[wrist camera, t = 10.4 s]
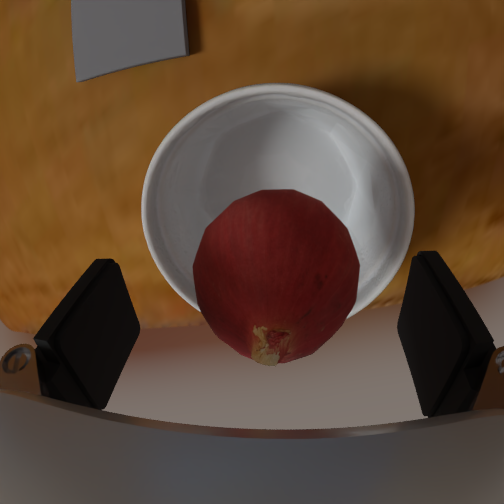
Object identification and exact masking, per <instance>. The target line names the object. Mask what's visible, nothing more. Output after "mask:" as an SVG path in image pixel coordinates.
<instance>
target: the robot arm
mask: <svg viewBox="0 0 504 504" xmlns="http://www.w3.org/2000/svg"><path fill="white" fill-rule="evenodd" d="M397 329H398V334H399V337H400V340H401V343H402V346H403V349H404V352H405V355H406V358H407V362H408V365H409V368H410V371H411V375H412V378H413V381H414V385H415V388H416V392H417V395H418V399H419V403H420V406H421V410H422V413H423V415H424V416H428V418H425V419H418V420H412V421H404V422H397V423H388V424H380V425H371V426H360V427H348V428H331V429H306V430H304V429H303V430H266V429H239V428H223V427H210V426H198V425H189V424H180V423H172V422H165V421H158V420H151V419H145V418H139V417H132V416H126V415H122V414H117V413H112V412H107V411H102V409H104V408H105V407H106V406H107V403H108V401H109V399H110V397H111V394H112V392H113V390H114V387H115V385H116V383H117V381H118V379H119V376H120V374H121V372H122V370H123V368H124V365H125V363H126V361H127V359H128V357H129V355H130V352H131V350H132V348H133V346H134V344H135V342H136V340H137V338H138V336H139V333H140V324H139V321H138V318H137V316H136V313H135V310H134V307H133V305H132V302H131V299H130V296H129V293H128V290H127V287H126V284H125V281H124V278H123V275H122V272H121V269H120V266H119V265H118V263H115V261H114V260H113V259H96V260H95V261H94V262H93V263H92V264H91V265H90V267H89V268H88V269H87V270H86V271H85V272H84V274H83V275H82V276H81V277H80V278H79V280H78V281H77V282H76V283H75V285H74V286H73V287H72V288H71V290H70V291H69V292H68V293H67V295H66V296H65V297H64V298H63V300H62V301H61V302H60V303H59V305H58V306H57V307H56V309H55V310H54V311H53V313H52V314H51V315H50V316H49V318H48V319H47V320H46V322H45V323H44V324H43V326H42V327H41V329H40V330H39V331H38V333H37V334H36V335H35V337H34V340H35V342H36V344H37V348H36V349H34V348H33V347H32V346H31V345H29V344H19V345H16V346H14V347H12V348H10V349H9V350H8V351H7V352H6V353H5V354H4V355H3V356H2V358H1V360H0V504H504V346H503V347H499V348H498V349H496V347H495V346H494V344H493V341H494V340H493V338H492V336H491V334H490V333H489V331H488V329H487V327H486V326H485V324H484V322H483V321H482V319H481V317H480V315H479V314H478V312H477V311H476V309H475V307H474V306H473V304H472V302H471V301H470V300H469V298H468V296H467V295H466V293H465V291H464V290H463V288H462V287H461V285H460V284H459V282H458V281H457V279H456V278H455V276H454V275H453V273H452V272H451V270H450V269H449V267H448V266H447V265H446V263H445V262H444V260H443V259H442V257H441V256H440V255H439V253H438V252H437V251H419V252H418V254H417V256H414V257H413V258H412V261H411V266H410V271H409V276H408V281H407V286H406V290H405V294H404V299H403V303H402V307H401V311H400V316H399V319H398V325H397Z"/></svg>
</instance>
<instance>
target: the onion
mask: <svg viewBox="0 0 504 504" xmlns="http://www.w3.org/2000/svg"><path fill="white" fill-rule="evenodd" d="M192 267H193V278H194V285H195V292H196V298H197V304H198V306H199V309H200V311H201V313H202V314H203V316H204V318H205V319H206V321H207V322H208V324H209V326H210V327H211V329H212V330H213V332H214V333H215V335H217V336H218V338H219V339H221V340H222V341H224V342H225V343H226V344H228V345H229V346H231V347H232V348H233V349H234V350H236V351H237V352H238V353H239V354H241V355H243V356H245V357H248V358H251V359H253V360H255V361H256V362H257V363H260V364H263V365H268V366H275V365H277V364H278V363H287V362H290V361H292V360H296V359H299V358H302V357H305V356H308V355H311V354H313V353H314V352H315V351H316V350H318V348H320V347H321V346H322V345H323V344H324V343H325V342H326V341H327V340H329V339H330V338H331V337H332V336H333V335H334V334H335V333H336V331H338V329H339V328H340V327H341V326H342V325H343V323H344V321H345V320H346V318H347V316H348V315H349V313H350V312H351V310H352V309H353V307H354V305H355V303H356V299H357V291H358V282H359V272H360V263H359V259H358V256H357V253H356V250H355V247H354V244H353V242H352V239H351V236H350V233H349V231H348V228H347V227H346V226H345V225H344V224H343V223H342V222H341V220H340V219H339V218H338V217H337V216H336V215H335V214H334V213H333V212H332V211H331V210H330V209H329V208H328V207H327V206H326V205H325V204H324V203H323V202H322V201H320V200H318V199H316V198H313V197H311V196H309V195H306V194H304V193H301V192H299V191H297V190H294V189H269V190H260V191H257V192H255V193H252V194H250V195H247V196H245V197H242V198H240V199H237V200H235V201H233V202H232V203H231V204H230V205H229V206H228V207H227V208H226V209H225V210H224V211H223V212H222V213H221V214H220V215H219V216H218V217H216V218H215V219H214V220H213V221H212V222H211V223H210V224H209V225H208V226H207V227H206V228H205V231H204V234H203V236H202V239H201V242H200V245H199V247H198V250H197V253H196V256H195V260H194V263H193V266H192Z"/></svg>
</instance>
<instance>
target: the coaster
mask: <svg viewBox="0 0 504 504" xmlns="http://www.w3.org/2000/svg"><path fill="white" fill-rule="evenodd" d="M71 13H72V36H73V51H74V62H75V73H76V82H83V81H86V80H89V79H92V78H96V77H99V76H102V75H106V74H109V73H113V72H117V71H120V70H124V69H128V68H132V67H136V66H140V65H144V64H149V63H153V62H158V61H163V60H168V59H173V58H178V57H184V56H190V55H189V44H188V33H187V21H186V8H185V0H71Z"/></svg>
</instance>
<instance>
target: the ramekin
mask: <svg viewBox="0 0 504 504" xmlns="http://www.w3.org/2000/svg"><path fill="white" fill-rule="evenodd" d="M269 189H294V190H297V191H299V192H301V193H304V194H306V195H309V196H311V197H313V198H316V199H318V200H320V201H322V202H323V203H324V204H325V205H326V206H327V207H328V208H329V209H330V210H331V211H332V212H333V213H334V214H335V215H336V216H337V217H338V218H339V219H340V220H341V222H342V223H343V224H344V225H345V226H346V227H347V228H348V231H349V233H350V236H351V239H352V242H353V244H354V247H355V250H356V253H357V256H358V259H359V263H360V272H359V282H358V291H357V299H356V303H355V305H354V307H353V309H352V310H351V312H350V313H349V315H348V316H347V318H349V317H351V316H352V315H354V314H355V313H357V312H359V311H360V310H361V309H363V308H364V307H366V306H367V305H368V304H369V303H371V302H372V301H373V300H374V299H375V298H376V297H377V296H378V295H379V294H380V293H381V292H382V291H383V290H384V289H385V288H386V286H387V285H388V284H389V283H390V282H391V280H392V279H393V277H394V276H395V274H396V273H397V271H398V269H399V268H400V266H401V264H402V262H403V260H404V258H405V255H406V253H407V250H408V247H409V244H410V240H411V236H412V232H413V226H414V215H415V208H414V195H413V190H412V185H411V181H410V177H409V174H408V171H407V168H406V166H405V164H404V161H403V159H402V157H401V155H400V153H399V152H398V150H397V148H396V147H395V145H394V144H393V142H392V141H391V139H390V138H389V137H388V135H387V134H386V133H385V132H384V131H383V129H382V128H381V127H380V126H379V125H378V124H377V123H376V122H375V121H373V120H372V119H371V118H370V117H369V116H368V115H366V114H365V113H364V112H362V111H361V110H360V109H358V108H357V107H355V106H354V105H352V104H350V103H348V102H347V101H345V100H343V99H341V98H339V97H337V96H335V95H333V94H331V93H328V92H325V91H322V90H319V89H316V88H312V87H308V86H304V85H298V84H290V83H264V84H256V85H250V86H246V87H242V88H238V89H234V90H231V91H229V92H226V93H224V94H221V95H219V96H217V97H215V98H213V99H211V100H209V101H207V102H205V103H204V104H202V105H200V106H199V107H197V108H196V109H194V110H193V111H191V112H190V113H189V114H187V115H186V116H185V117H184V118H183V119H182V120H180V121H179V122H178V123H177V124H176V125H175V126H174V128H173V129H172V130H171V131H170V132H169V133H168V134H167V136H166V137H165V138H164V140H163V141H162V143H161V144H160V146H159V147H158V149H157V151H156V152H155V154H154V156H153V158H152V160H151V163H150V165H149V168H148V171H147V174H146V177H145V181H144V186H143V192H142V224H143V230H144V235H145V238H146V241H147V244H148V247H149V250H150V252H151V255H152V257H153V259H154V261H155V263H156V265H157V267H158V268H159V270H160V272H161V273H162V275H163V276H164V277H165V279H166V280H167V281H168V283H169V284H170V285H171V287H172V288H173V289H174V290H175V291H176V292H177V293H178V294H179V295H180V296H181V297H182V298H183V299H184V300H186V301H187V302H188V303H189V304H190V305H192V306H193V307H194V308H196V309H197V310H198V311H200V309H199V306H198V304H197V298H196V292H195V285H194V278H193V267H192V266H193V263H194V260H195V256H196V253H197V250H198V247H199V245H200V242H201V239H202V236H203V234H204V231H205V228H206V227H207V226H208V225H209V224H210V223H211V222H212V221H213V220H214V219H215V218H216V217H218V216H219V215H220V214H221V213H222V212H223V211H224V210H225V209H226V208H227V207H228V206H229V205H230V204H231V203H232V202H233V201H235V200H237V199H240V198H242V197H245V196H247V195H250V194H252V193H255V192H257V191H260V190H269ZM200 312H201V311H200ZM347 318H346V319H347Z"/></svg>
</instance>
